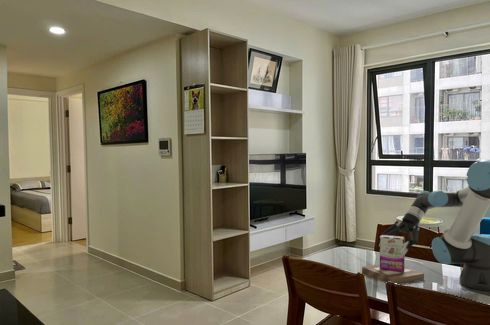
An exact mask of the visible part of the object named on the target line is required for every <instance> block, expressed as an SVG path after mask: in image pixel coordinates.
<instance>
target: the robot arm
mask: <svg viewBox="0 0 490 325" xmlns="http://www.w3.org/2000/svg"><path fill="white" fill-rule="evenodd" d="M466 182H467V185H468V186H467V187H464V188H462V189H460V190H456V191H443V190H433V191H431V192H430V191H427V190H422V191H420V192H419V193H418V194H417V196H416V198H415V200H414V201H413V203H412V204H411V205H410V207H409V208H408V209H407V211H406V213H405V214H404V215H403V217H402V220H401V222H399V221H397V220H396V221H395V222H394V223H393V224H392V225H390V226H389V227H388V228H387V229H386V230H383V231H382V235H389V236H396V235H397V234H401V233H405V234H407V237H408V240H407V241H405V245H404V247H403V248H402V250H401V251H400V252H401V254H402V255H403V256H404V255H406V254H407V253H408V251H409V250H410V249H411V248H412V246H413V245H416V246H417V245H418V244H419V238H420V237H419V235H420V234H419V233H420V231H421V228H420V226H419V224H420V223H421V221H422V220H423V218H424V216H425V215H426V213H427V212H428V211H429V210H431V209H435V208H460V209H459V211H458V212H457V214H456V216H455V218H454V220H453V222H452V224H451V226H450V227H449V228H447V229H445V230H444V231H443V232H442V234H441V236H437V237H434V238H433V239H432V242H431V249H432V250H431V251H432V253H433V256H434V258H435V259H436V260H437V261H438V262H439V263H440V264H447V265H453V264H463V267H462V270H461V272H460V274H459V278H458V279H459V283H460V284H461V285H463V286H465V287H467V288H470V289H473V290H478V291H488V292H489V291H490V236H487V235H484V234H481V233H475V232H476V231H477V228H478V227H479V225H480V223H481V222H482V220H483V218H484V216H485V215H486V214H487V212H488V210H489V208H490V159H485V160H477V161H476V162H473V163H472V164H470V166H469V168H468V169H467V172H466ZM378 247H380V243H379V244H378Z"/></svg>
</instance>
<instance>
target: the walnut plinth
mask: <svg viewBox="0 0 490 325" xmlns="http://www.w3.org/2000/svg"><path fill="white" fill-rule="evenodd" d="M361 273H362V274H364V275H366V276H369V277H371V278H373V279H375V280H378V281H380V282H383V283H385V284H387V283H386V282H388V281H391V282H394V283H397V284H399V285H403V284H408V283H414V282H415V283H416V282H419V281H424V280H425V273H423V272H421V271H418V270H415V269H412V268H410V267H407V266H405V270H404V272H397V271H390V270H382V269H380V263H379V264H378V263H377V264H372V265H371V264H370V265H365V266H362V267H361Z"/></svg>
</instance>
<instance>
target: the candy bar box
mask: <svg viewBox="0 0 490 325" xmlns="http://www.w3.org/2000/svg"><path fill="white" fill-rule="evenodd" d="M379 244H380V246H379V264H380V269H382V270H390V271H397V272H404V270H405V267H406V266H405V265H406V264H405V263H406V257H405V255H406V254H405V255H404V256H403V255H402V254H401V252H400V251H401V250H402V248H403V247H404V245H405V244H406V238H405V236H401V235H400V236H399V235H397V236H396V235H393V236H389V235H383V234H381V235H380V236H379Z"/></svg>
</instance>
